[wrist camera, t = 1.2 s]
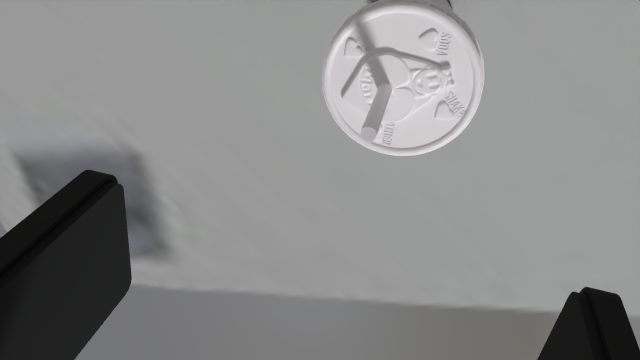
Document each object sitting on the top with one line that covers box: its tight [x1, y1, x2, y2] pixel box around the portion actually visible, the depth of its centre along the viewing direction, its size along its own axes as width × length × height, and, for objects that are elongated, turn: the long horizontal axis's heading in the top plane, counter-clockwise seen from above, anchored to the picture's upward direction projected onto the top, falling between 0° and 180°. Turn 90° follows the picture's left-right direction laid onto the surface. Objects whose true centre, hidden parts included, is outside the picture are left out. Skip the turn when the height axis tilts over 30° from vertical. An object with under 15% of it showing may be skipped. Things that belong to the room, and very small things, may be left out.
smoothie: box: [322, 0, 484, 156], centre depth 23 cm, size 6×6×14 cm
